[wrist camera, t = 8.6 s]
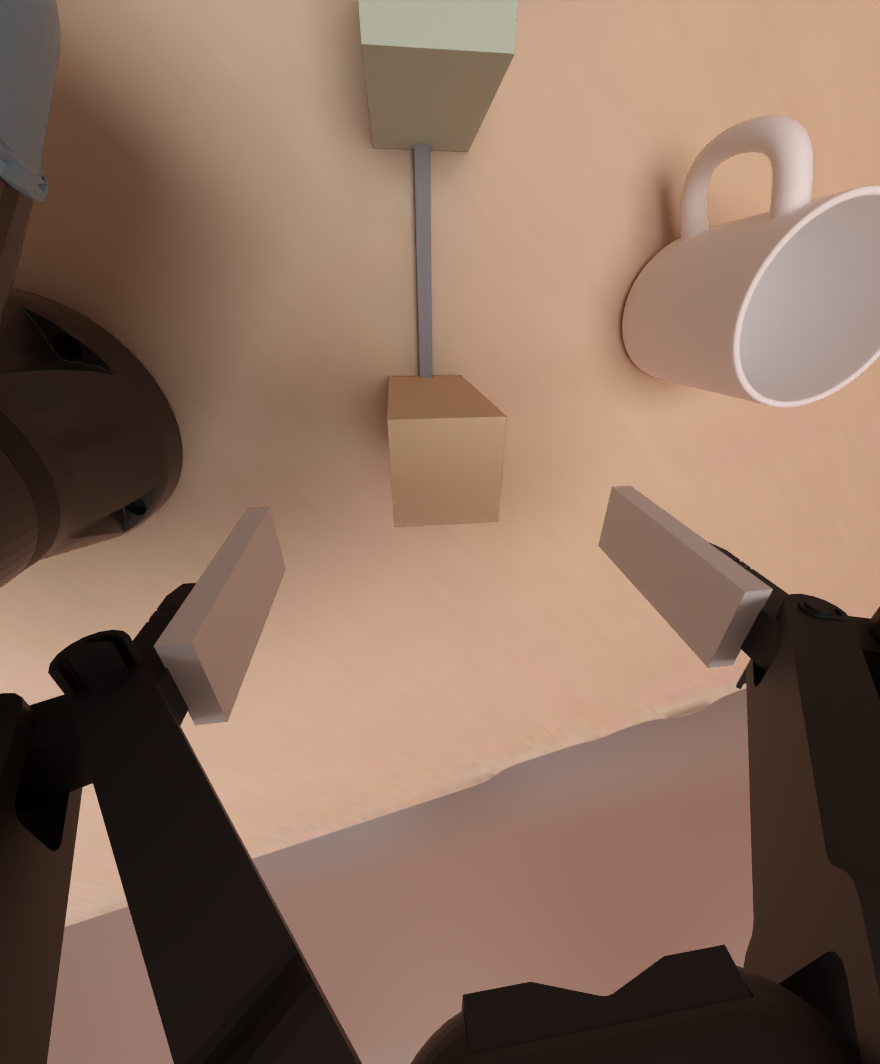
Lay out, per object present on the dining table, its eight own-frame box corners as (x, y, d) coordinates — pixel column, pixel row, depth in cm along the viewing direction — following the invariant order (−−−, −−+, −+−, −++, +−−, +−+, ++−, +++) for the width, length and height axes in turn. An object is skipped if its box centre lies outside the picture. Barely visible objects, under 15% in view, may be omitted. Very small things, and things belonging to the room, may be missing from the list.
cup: (630, 398, 28) (739, 437, 19) (590, 204, 22) (719, 135, 14) (744, 342, 27) (914, 357, 18) (733, 124, 21) (974, -9, 12)
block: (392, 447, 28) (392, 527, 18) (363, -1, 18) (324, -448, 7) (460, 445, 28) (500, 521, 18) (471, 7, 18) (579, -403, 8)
